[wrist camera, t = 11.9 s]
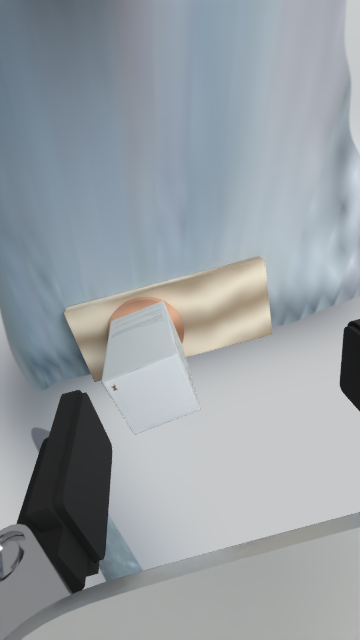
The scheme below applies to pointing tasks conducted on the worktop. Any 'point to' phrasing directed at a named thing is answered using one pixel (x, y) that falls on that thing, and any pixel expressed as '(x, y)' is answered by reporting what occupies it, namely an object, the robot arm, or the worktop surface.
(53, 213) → the worktop surface
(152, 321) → the supplement box
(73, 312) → the board
